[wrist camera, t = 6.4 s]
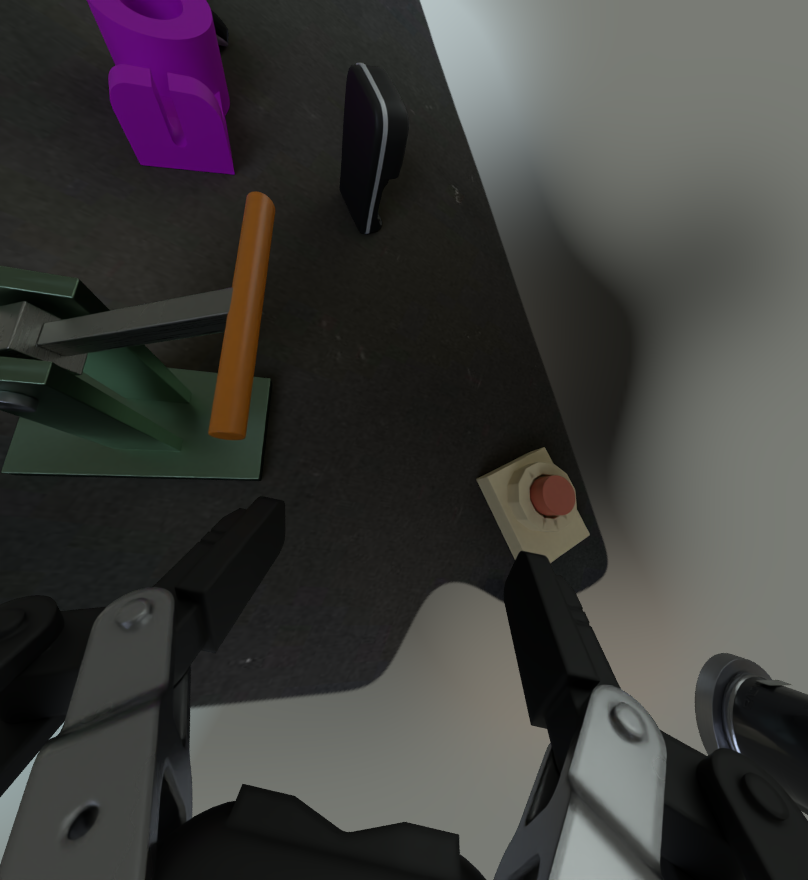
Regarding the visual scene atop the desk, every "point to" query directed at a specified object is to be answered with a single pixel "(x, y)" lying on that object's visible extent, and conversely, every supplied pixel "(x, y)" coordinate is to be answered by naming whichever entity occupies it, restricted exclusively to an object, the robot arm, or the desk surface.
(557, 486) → the stop button
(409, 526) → the desk surface
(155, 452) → the switch bracket
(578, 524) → the stop housing
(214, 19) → the gaming controller
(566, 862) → the robot arm
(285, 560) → the desk surface
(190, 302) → the lever
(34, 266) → the desk surface
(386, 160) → the battery charger
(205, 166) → the purple bearing bracket
